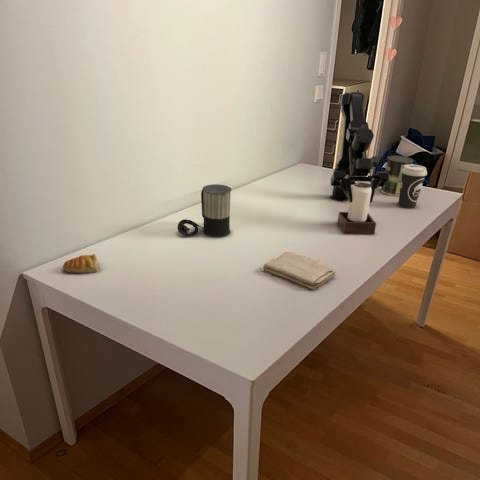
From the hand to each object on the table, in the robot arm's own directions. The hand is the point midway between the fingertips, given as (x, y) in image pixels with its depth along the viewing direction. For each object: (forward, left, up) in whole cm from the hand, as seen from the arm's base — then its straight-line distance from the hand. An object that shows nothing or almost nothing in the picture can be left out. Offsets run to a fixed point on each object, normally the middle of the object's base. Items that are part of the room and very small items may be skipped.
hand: (361, 202), depth 159 cm
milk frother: (-30, -43, -10) cm, 54 cm away
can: (-1, +1, -7) cm, 7 cm away
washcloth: (+10, -41, -10) cm, 44 cm away
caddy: (-1, +1, -10) cm, 10 cm away
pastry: (-30, -86, -10) cm, 92 cm away
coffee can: (-16, +49, -10) cm, 52 cm away
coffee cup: (-3, +38, -10) cm, 39 cm away
